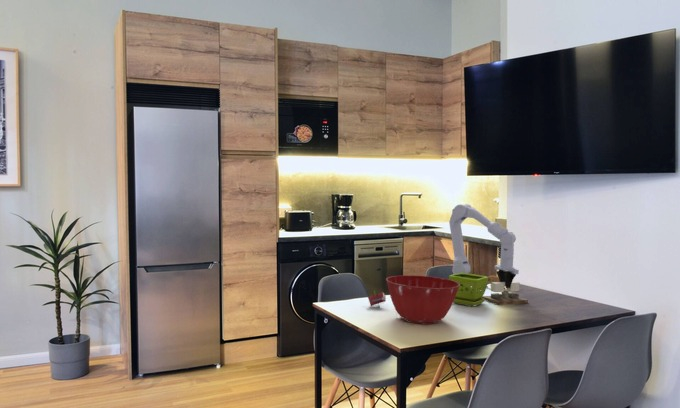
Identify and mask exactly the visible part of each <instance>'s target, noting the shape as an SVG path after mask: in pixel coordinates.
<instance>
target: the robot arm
mask: <svg viewBox="0 0 680 408" xmlns="http://www.w3.org/2000/svg"><path fill="white" fill-rule="evenodd" d="M451 212H452V213H451V216H450V219H449V224H448V225H449V229H450V236H451V242H452V248H453V249H452V250H453V255H454V259H453V260H452V264H453V265H452V269H451V270H452V273H453V274H457V273H467V274H471V271H472V266H471V264H470V263H469V259H468V257H467V256H466V251H465V244H464V238H463V232H462V223H463V222H464V221H465V220H466V219H468V218H469V219H470V218H471V219H473V220H476V221H477V222H478V223H480V224H481V225H483V226H484V227H486V229H487V232H488V233H490V235H492V236H493V237H495V238H496V239H497V240H499V242H500V245H501V246H500V247H501V248H500V260H499V261H500V263H499V265H497V264H496V265H495V264H494V270H495V271H496V270H497V271H496V273H495V274H496V275H497V276H498V277H499V280H500V282H505V289H506V288H510V287H511V283H512V282H514V279H515V277H516V276H517V275H519V270H520V269H517V268H515V267H514V254H515V252H514V250H515V249H514V247H515V246H514V245H515V242H516V238H517V237H516V235H515V233H514V232H512V231H509V229H508V228H506V229H505V227H503V226H502V225H501V223H500V222H496V221H491V220H490V219H488V218H487V216H485V215H483V214H482V213H481V212H480V211H479V210H477V209H476V208H475V207H473V206H471V205H470V204H468V203H465V204H457V205H455V207H453V209H452V210H451Z"/></svg>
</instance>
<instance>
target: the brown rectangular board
mask: <svg viewBox="0 0 680 408" xmlns="http://www.w3.org/2000/svg"><path fill="white" fill-rule="evenodd" d="M482 298H483V299H485V300H484V302H489V303H491V304H495V305H497V306H502V305H503V306H506V305H519V304H520V305H523V304H528V303H529V299H527V298H522V297H520V294H519V293H516V292H514V291H511V292H510V291H507V290H506V289H504V292H501V293H500V292H493V293H490V295H483V297H482Z"/></svg>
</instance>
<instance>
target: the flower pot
mask: <svg viewBox="0 0 680 408" xmlns="http://www.w3.org/2000/svg"><path fill="white" fill-rule="evenodd" d="M488 277H489V276H486V275H479V274H474V273H469V274H467V273H457V274H454V273H453V274H450V275H448V279H449V280H452V281H455V282H458V283H459V284H460V286H459V287H458V291H457V294H456V297H455V299H454V302H453V304H456V305H457V304H458V305H464V306H469V307H475V306H478V305H482V304H483V303H484V302H485V299H483V298H482V297H483V296H485V293H486V291H487V286H488V285H487V283H488Z"/></svg>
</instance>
